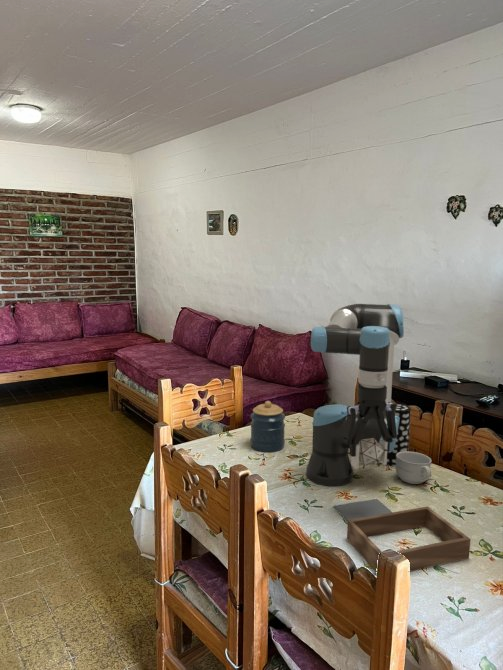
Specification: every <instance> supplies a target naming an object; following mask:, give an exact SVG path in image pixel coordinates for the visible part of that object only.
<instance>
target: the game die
mask: <svg viewBox="0 0 503 670" xmlns="http://www.w3.org/2000/svg"><path fill="white" fill-rule="evenodd" d="M359 440H360V441H359V443H358V445H359V446H360V448H359V463H361V464H362V469H365V467H366V466H373V465H377V467H380V466H381V465H380V464H381V463H380V462H379V461H380V459H381V457H382V455H383V453H384V451H387V449H385V450H384V449H383V448H382V447H381V445H380V444H379V443H378V442H377V441H376V439H375V435H374V436H373V438H368V439H361V438H359ZM379 463H380V464H379Z"/></svg>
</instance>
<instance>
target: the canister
mask: <svg viewBox="0 0 503 670" xmlns="http://www.w3.org/2000/svg"><path fill="white" fill-rule="evenodd" d="M285 418H286V415H285V414H284V409H283V408H282V407H280V406H279V405H277V404H273V403H272V402H271V401H270V400H266V401H265V402H264V403H261V404H259V405H256V407H254V408H253V409H252V413H251V414H250V419H251V423H250V447H251V448H252V449H254V450H255V451H259V452H264V453H272V452H273V453H274V452H277V451H280V450H282V449H284V447H285V443H286V441H285V440H286V439H285V427H286V423H285V422H284V420H285Z"/></svg>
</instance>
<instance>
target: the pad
mask: <svg viewBox="0 0 503 670" xmlns="http://www.w3.org/2000/svg"><path fill="white" fill-rule="evenodd" d="M333 508H334V509H335V510H336V511H337V512H338V513H339V514H340V516H341V517H342V518H343V519H344V520H345V521H346V522H347V523H348V520H353V519H358V518H364V517H370V516H376V515H381V514H387V513H393V512H394V511H392V510H391V509H390V508H388V507H387V506H386V505H385V504H384V503H382V501H380V500H379V499H378V498H373V499H367V500H360V501H354V502H348V503H343V504H342V503H341V504H337V505H336V504H335V505H333Z"/></svg>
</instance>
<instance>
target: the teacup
mask: <svg viewBox="0 0 503 670" xmlns="http://www.w3.org/2000/svg"><path fill="white" fill-rule="evenodd" d="M431 465H432V458H431V457H429V456H427V455H426V454H423V453H421V452H417V451H403V452H399V453H397V454H396V467H395V473H396V475H397V476H398V478H400V479H401V481H403V482H405V483H407V484H411V485H412V484H413V485H420V484H422V483H424V482H425V481H427V480H429V479H430V478H431V477H432V470H431Z"/></svg>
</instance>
